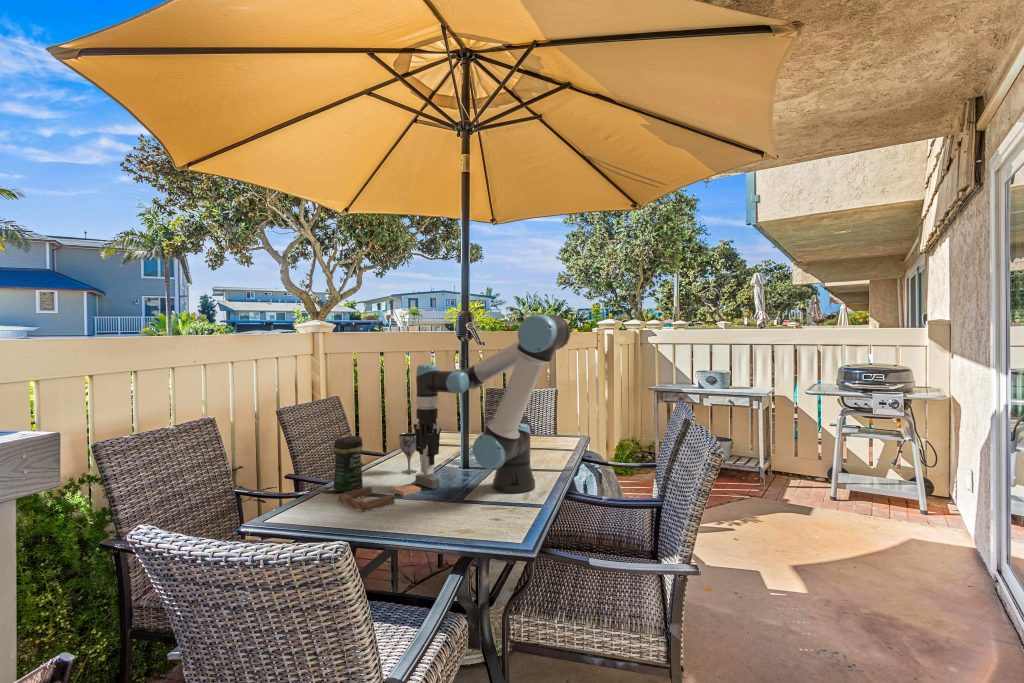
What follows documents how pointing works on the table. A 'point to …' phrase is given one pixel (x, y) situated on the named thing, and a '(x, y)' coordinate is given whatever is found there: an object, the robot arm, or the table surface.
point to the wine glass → (408, 448)
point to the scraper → (424, 478)
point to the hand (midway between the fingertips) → (427, 472)
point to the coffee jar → (348, 464)
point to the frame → (352, 500)
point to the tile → (406, 489)
